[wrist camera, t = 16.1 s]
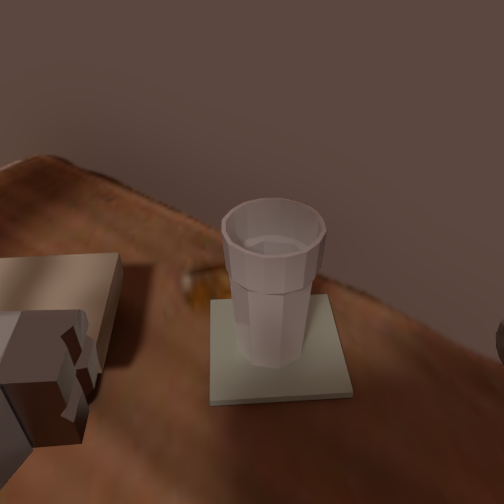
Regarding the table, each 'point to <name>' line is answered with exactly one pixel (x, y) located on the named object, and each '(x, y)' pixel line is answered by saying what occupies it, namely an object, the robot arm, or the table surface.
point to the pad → (272, 379)
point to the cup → (272, 275)
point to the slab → (66, 289)
